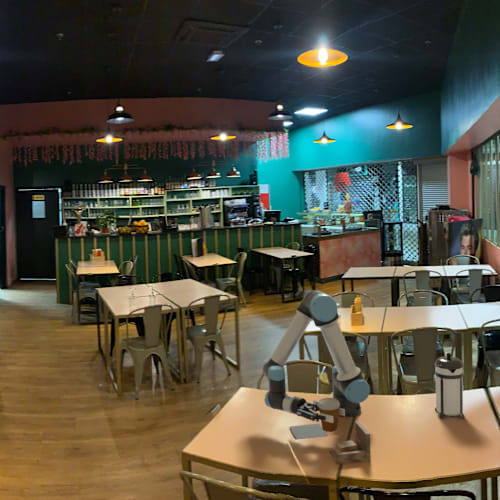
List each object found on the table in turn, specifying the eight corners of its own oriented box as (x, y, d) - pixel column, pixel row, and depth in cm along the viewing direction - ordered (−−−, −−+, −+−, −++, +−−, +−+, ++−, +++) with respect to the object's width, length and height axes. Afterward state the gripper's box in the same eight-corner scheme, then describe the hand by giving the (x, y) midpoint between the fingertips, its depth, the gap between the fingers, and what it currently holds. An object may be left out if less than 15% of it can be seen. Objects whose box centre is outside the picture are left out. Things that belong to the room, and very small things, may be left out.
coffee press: (474, 414, 261) (473, 352, 258) (453, 423, 252) (452, 359, 249) (443, 404, 275) (442, 345, 273) (422, 412, 266) (421, 351, 264)
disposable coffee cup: (342, 425, 237) (341, 398, 236) (339, 434, 228) (337, 406, 227) (321, 423, 240) (319, 396, 239) (316, 432, 231) (315, 404, 230)
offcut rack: (359, 449, 230) (359, 421, 229) (370, 463, 217) (370, 434, 216) (328, 452, 228) (327, 424, 227) (337, 467, 216) (336, 437, 214)
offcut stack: (354, 451, 226) (354, 439, 225) (359, 458, 220) (359, 445, 219) (335, 453, 225) (334, 441, 224) (339, 460, 219) (339, 448, 218)
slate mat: (319, 425, 257) (319, 423, 257) (327, 437, 243) (327, 435, 243) (289, 428, 255) (289, 426, 255) (296, 440, 241) (296, 439, 241)
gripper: (309, 405, 254) (352, 416, 238) (281, 421, 238) (325, 433, 223) (308, 390, 253) (351, 399, 238) (280, 404, 237) (324, 415, 222)
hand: (338, 416), depth 230 cm, fingers closed on disposable coffee cup, 8 cm apart
